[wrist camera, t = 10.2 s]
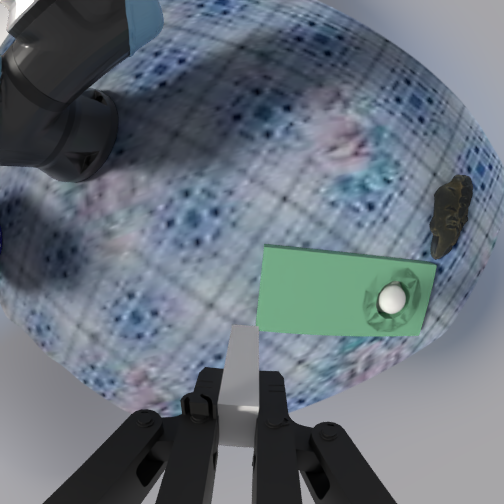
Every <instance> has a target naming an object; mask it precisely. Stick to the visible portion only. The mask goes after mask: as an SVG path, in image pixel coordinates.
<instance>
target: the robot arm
mask: <svg viewBox="0 0 504 504" xmlns="http://www.w3.org/2000/svg"><path fill="white" fill-rule="evenodd" d="M0 3H2V4H3V5H4V6H5V7H6V8H7V9H8V11H9V17H8V23H7V32H8V33H9V34H11V35H12V36H13V37H14V38H15V39H16V40H15V41H14V43H13V44H12V45H11V46H10V47H9V48H8V50H7V51H6V52H5V53H4V54H3V55H2V56H1V54H0V166H21V167H36V168H38V169H40V170H41V171H43V172H44V173H46V174H47V175H49V176H51V177H52V178H54V179H56V180H58V181H61V182H79V181H82V180H85V179H87V178H88V177H90V176H91V175H93V174H94V173H95V172H96V171H97V170H98V169H99V168H100V167H101V166H102V165H103V163H104V162H105V161H106V159H107V157H108V156H109V154H110V152H111V150H112V148H113V145H114V143H115V139H116V136H117V130H118V113H117V109H116V106H115V104H114V102H113V101H112V100H111V99H110V98H109V97H108V96H107V95H105V94H104V93H102V92H100V91H99V90H96V89H93V88H89V87H90V86H91V85H92V84H94V83H95V82H96V81H97V80H99V79H100V78H101V77H102V76H103V75H105V74H106V73H107V72H109V71H110V70H111V69H113V68H114V67H115V66H117V65H118V64H119V63H121V62H122V61H123V60H125V59H126V58H128V57H131V56H133V55H134V53H135V51H137V50H138V49H139V48H141V47H142V46H144V45H145V44H146V43H148V42H149V41H151V40H152V39H154V38H155V37H156V36H157V35H158V34H159V33H160V32H161V30H162V28H163V24H164V18H163V13H162V10H161V6H160V3H159V1H158V0H0ZM180 401H181V408H182V414H181V415H179V416H175V417H164V418H161V417H160V415H159V414H158V413H156V412H155V411H152V410H148V409H145V410H138V411H135V412H134V413H133V414H131V415H130V416H129V417H128V419H126V420H125V422H124V423H123V424H122V425H121V426H120V427H119V428H118V429H117V430H116V431H115V432H114V433H113V434H112V435H111V436H110V437H109V438H108V439H107V440H106V441H105V442H104V443H103V444H102V445H101V446H100V447H99V448H98V449H97V450H96V451H95V453H94V454H92V456H91V457H90V458H89V459H88V460H87V461H86V462H85V463H84V464H83V465H82V466H81V467H80V468H79V469H78V470H77V471H76V472H75V473H74V474H73V475H72V476H71V477H70V478H68V479H67V480H66V481H65V482H64V483H63V484H62V485H61V486H60V487H59V488H58V489H57V490H56V491H55V492H54V493H53V494H52V495H51V496H50V497H49V498H48V499H47V500H46V501H45V502H44V503H43V504H141V503H142V501H143V500H144V498H145V497H146V496H147V494H148V493H149V491H150V490H151V489H152V487H153V486H154V484H155V483H156V482H157V480H158V479H159V477H160V475H161V474H162V473H163V472H164V470H165V473H164V476H163V479H162V483H161V486H160V489H159V493H158V497H157V500H156V503H155V504H211V501H212V493H213V486H214V479H215V472H216V465H217V458H218V443H219V445H225V446H236V447H253V448H254V455H253V462H252V466H253V479H252V504H302V497H301V488H300V480H299V471H298V470H300V473H301V475H302V477H303V479H304V481H305V483H306V485H307V487H308V489H309V492H310V494H311V496H312V498H313V500H314V502H315V504H397V503H396V502H395V500H394V499H393V498H392V496H391V495H390V493H389V492H388V491H387V489H386V488H385V487H384V485H383V484H382V483H381V481H380V480H379V478H378V477H377V475H376V474H375V473H374V471H373V470H372V468H371V467H370V466H369V464H368V463H367V461H366V460H365V459H364V457H363V456H362V455H361V453H360V451H359V450H358V448H357V447H356V446H355V444H354V443H353V441H352V440H351V438H350V437H349V436H348V434H347V433H346V431H345V430H344V429H343V428H342V427H341V426H340V425H338V424H336V423H333V422H322V423H320V424H317V425H316V426H315V427H314V428H311V427H306V426H302V425H299V424H297V423H295V422H294V421H293V420H292V419H291V418H290V417H289V414H288V408H287V400H286V392H285V385H284V378H283V376H282V375H281V374H280V373H279V371H259V326H245V325H232V329H231V334H230V339H229V344H228V350H227V355H226V361H225V366H224V369H219V368H209V367H205V368H204V369H203V370H202V371H201V372H200V373H199V376H198V379H197V382H196V385H195V388H194V392H191V393H188V394H186V395H184V396H183V397H182V399H181V400H180Z"/></svg>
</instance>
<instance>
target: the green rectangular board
mask: <svg viewBox="0 0 504 504" xmlns="http://www.w3.org/2000/svg"><path fill="white" fill-rule="evenodd" d="M436 267H437V265H435V264H433V263H430V262H427V261H418V260H409V259H401V258H392V257H383V256H374V255H365V254H356V253H347V252H337V251H328V250H318V249H309V248H299V247H289V246H280V245H270V244H264V253H263V262H262V272H261V281H260V290H259V300H258V309H257V318H256V326H259V331H268V332H280V333H293V334H310V335H332V336H418V335H419V334H420V330H421V327H422V324H423V321H424V317H425V314H426V310H427V306H428V302H429V298H430V294H431V290H432V286H433V282H434V277H435V272H436ZM398 281H400V282H401V284H400V283H399V282H398ZM389 285H397V286H399V287H400V288H402V290H403V291H404V293H405V296H406V301H405V305H404V307H403V308H402V309H401V310H400V311H399V312H397V313H394V314H389V313H386V312H384V311H383V310H382V309H381V308H380V306H379V301H378V299H379V295H380V292H381V291H382V290H383V289H384V288H385V287H386V286H389ZM401 286H402V287H401ZM377 310H378V311H380V312H378V311H377Z"/></svg>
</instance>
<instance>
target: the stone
mask: <svg viewBox="0 0 504 504" xmlns="http://www.w3.org/2000/svg"><path fill="white" fill-rule="evenodd" d="M472 195H473V185H472V181H471V178H470V177H469V176H466V175H456V176H454V177H453V179H452V180H451V182H450V183H448V184H445V185H443V186H441V187H440V188H439V189H438V190H437V191H436V193H435V194H434V197H435V204H434V215H433V218H432V220H431V222H430V230H431V232H432V233H433V238H432V243H431V255H432V257H433V258H434V259H435V260H436V259H440V258H441V257H443V256H444V255H446V254H447V253H448V252H450V251H451V249H452V246H453V245H455V244H456V242H457V240H458V237H459V236H460V232H461V230H462V228H463V226H464V225H465V223H466V222H467V221H468V217H467V216H468V207H469V205H470V202H471V198H472Z"/></svg>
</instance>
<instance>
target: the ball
mask: <svg viewBox="0 0 504 504" xmlns="http://www.w3.org/2000/svg"><path fill="white" fill-rule="evenodd" d="M378 301H379V306H380V308H381V309H382V310H383V311H384V312H386V313H389V314H394V313H397V312H399V311H400V310H401V309H402V308H403V307H404V305H405V301H406V296H405V293H404V291H403V290H402V288H400V287H399V286H397V285H389V286H386V287H385V288H384V289H383V290H382V291H381V292H380V295H379V299H378Z"/></svg>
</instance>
